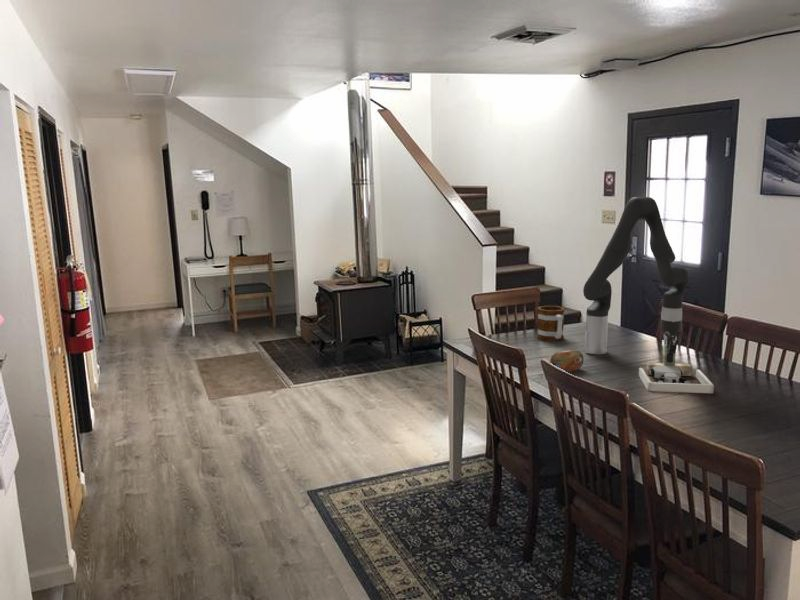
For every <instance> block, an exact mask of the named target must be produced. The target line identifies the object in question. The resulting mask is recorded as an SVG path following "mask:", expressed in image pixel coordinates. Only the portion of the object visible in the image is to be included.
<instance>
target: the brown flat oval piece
mask: <svg viewBox="0 0 800 600" xmlns="http://www.w3.org/2000/svg"><path fill="white" fill-rule="evenodd" d="M549 359H550V360H549V364H550V363H552V364H553V365H555V366H557V367H559V368H561V369H563V370H565V371H567V372H566V373H569V372H574V371H578V370H580V369H581V367H582V366H583V364H584V355H583V353H582V352H581V351H579V350H577V349H576V350H575V349H568V350H563V351H558V352H555V353H554V354H552V356H551V357H550V358H549Z"/></svg>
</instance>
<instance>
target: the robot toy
mask: <svg viewBox="0 0 800 600" xmlns="http://www.w3.org/2000/svg"><path fill="white" fill-rule="evenodd" d="M679 368H680V367H679ZM648 369H649V367H648ZM649 371H650V373H651V374H652V375H651V376H652V377H654V378H655V379H657V380H658V381H657V382H658V383H687V384H691V382H690V381H689V380H688V379H687V378H685V377H682V374H683V372H682V370H681V368H680V369H678V367H674V366H655V367H653V368H652V369H651V370H650V369H649Z"/></svg>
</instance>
